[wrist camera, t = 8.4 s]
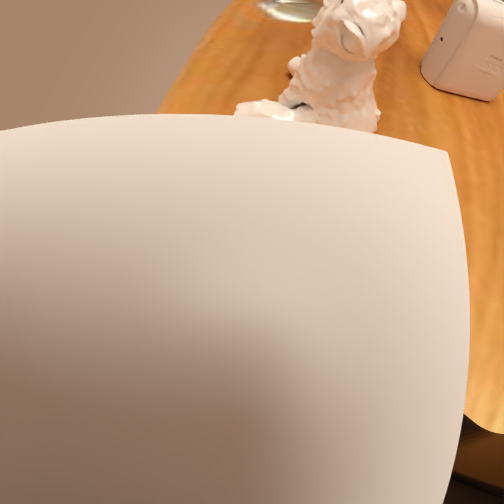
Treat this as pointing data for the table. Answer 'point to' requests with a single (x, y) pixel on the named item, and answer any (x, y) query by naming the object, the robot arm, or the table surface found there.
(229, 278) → the block
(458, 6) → the photo printer
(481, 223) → the table surface
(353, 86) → the white creature statuette
